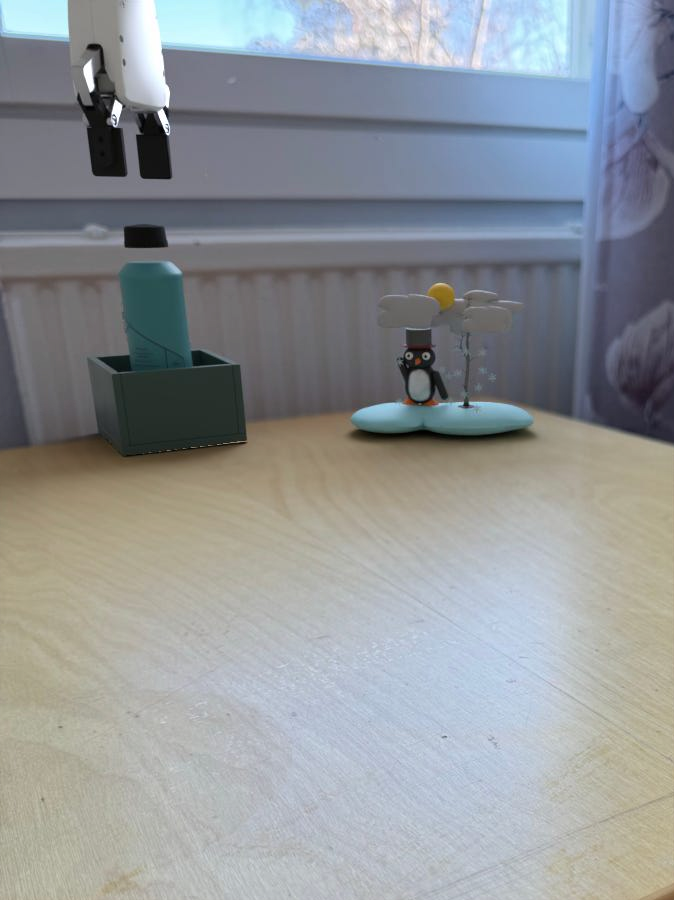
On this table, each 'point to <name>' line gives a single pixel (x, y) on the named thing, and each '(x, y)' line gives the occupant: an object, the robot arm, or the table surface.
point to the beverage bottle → (153, 305)
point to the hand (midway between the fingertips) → (134, 177)
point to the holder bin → (168, 403)
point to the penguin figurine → (423, 380)
